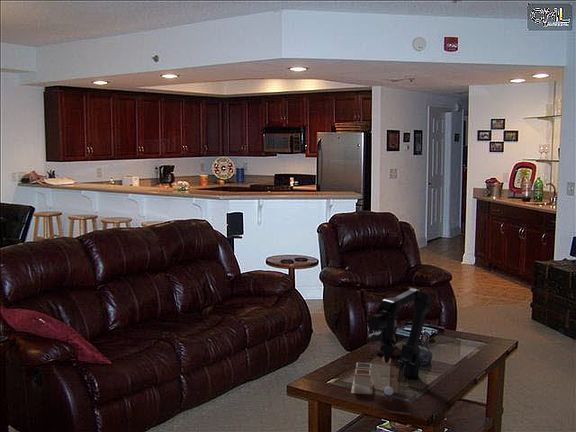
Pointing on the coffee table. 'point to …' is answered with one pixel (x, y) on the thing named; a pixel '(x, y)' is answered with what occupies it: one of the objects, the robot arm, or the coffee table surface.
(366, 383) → the box
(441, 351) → the coffee table surface
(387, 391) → the grey ball
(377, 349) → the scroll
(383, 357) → the terracotta ball
